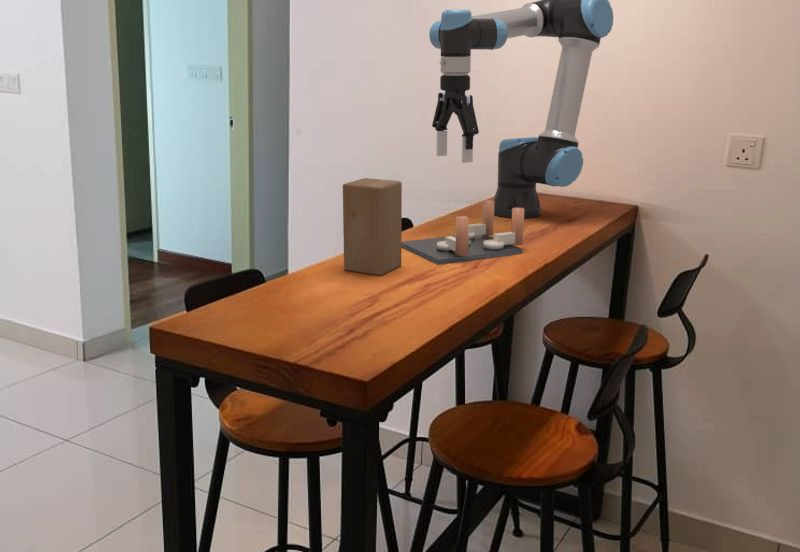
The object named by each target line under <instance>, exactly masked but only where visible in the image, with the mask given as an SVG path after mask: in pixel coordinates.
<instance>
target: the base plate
mask: <svg viewBox="0 0 800 552" xmlns="http://www.w3.org/2000/svg"><path fill="white" fill-rule="evenodd" d="M449 236H450V235H447V236H439V237H437V236H436V237H430V238H421V239H413V240H404V241H402V240H401V249H402V248H403V249H405V250H407V251H409V252H410V253H413V254H414V255H417V256H420V257H421V258H423V259H425V260H427V261H429V262H432V263H434V264H435V265H439V266H440V265H445V264H446V265H447V264H453V263H461V262H469V261H475V260H483V259H484V260H485V259H489V258H490V259H492V258H498V257H505V256H507V257H508V256H513V255H520V254H521V255H522V254H523V250H524V249H523V248H521V247H519V246H518V245H512V244H507V245H504V247H503V248H501V249H488V248H484V247H483V242H484V241H485V240H494V236H493V237H492V236H484V235H475V237H474V238H473V239H468V255H466V256H458V255H456V254H455V251H453V250H440V249H437V242H440V241H445V237H449ZM451 236H452V237H455V235H451ZM455 238H456V237H455Z"/></svg>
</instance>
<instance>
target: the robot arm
mask: <svg viewBox="0 0 800 552" xmlns="http://www.w3.org/2000/svg"><path fill="white" fill-rule="evenodd" d="M613 12H614V11H613V8H612V6H611V2H610V1H609V0H537V1H532V2H528V3H525V4H524V5H522V7H520V8H515V9H507V10H502V11H497V12H496V11H494V12H490V13H489V12H488V13H484V14H477V15H473V16H472V11H471V10H470V9H445V10H444V11H442V13H441V16H440V20H436V21H435V22H433V23H432V25H431V27H430V28H429V31H428V32H429V33H428V34H429V35H428V36H429V40H430V43H431V45H432V46H433V48H436V49H437V50H438V49H439V50H440V61H439V65H440V73H441V76H440V79H439V80H440V81H439V87H440V88H439V89H440V90H441V91H442V92H439V93H437V103H436V108H435V111H434V116H433V119H432V124H431V126H432V128H434V129H435V131H436V157H445V156H446V157H447V155H448V127H447V126H448V124H449V123H450V119H451V117H452V115H453V113H454V115H456V116H457V120H458V121H459V124H460V127H461V129H462V135H461V163H463V164H466V163H467V164H468V163H473V159H474V157H473V154H474V153H473V152H474V137H475V136H476V135H479V133H480V130H479V127H478V126H479V125H478V121H477V118H476V117H477V116H476V112H475V108H474V99H473V95H472V94H469V95H468V94H467V95H466V91H470V89H471V76H470V75H469V74H470V73H471V65H472V64H471V62H472V60H471V57H472V56H471V55H472V51H473V50H488V51H489V50H490V51H493V50H497V49H498V50H499V49H501V48H503V46H505V44H506V42H507V40H508V39H512V38H517V37H522V36H526V38H536V37H547V38H549V37H550V38H558V42H559V44H560V45H561V50H560V51H561V52H560V57H559V61H558V65H557V66H558V67H557V71H556V75H555V80H554V85H553V90H552V95H551V98H550V105H549V109H548V110H549V111H548V114H547V119H546V125H545V128H544V130H543V132H542V133H540V134H539V135H538V137H537V136H532V137H529V136H528V137H516V138H505V139H502V140H501V141H500V142H499V147H498V152H497V157H498V159H497V189H496V191H495V194H494V197H493V199H492V200H493V201H494V216H497V217H502V218H510V219H512V208H524V219H525V218H527V219H528V218H534V217H538V216H541V212H542V209H541V208H542V207H541V206H542V205H541V203H540V199H539V196H538V192H537V184H541V185H545V186H548V187H549V186H550V187H559V188H561V187H568V186H570V185H571V184H573V182H575V181H576V180H577V179H578V178H579V176H580V174H581V172H582V170H583V165H584V157H583V153H582V151H581V150H580V149H579V148H578V147H579V140H578V139H577V138H576V130H577V126H578V121H579V116H580V112H581V107H582V103H583V98H584V93H585V89H586V83H587V79H588V74H589V69H590V66H591V65H590V64H591V59H592V56H593V55H592V54H593V52H594V51H595V50H596V49H598V48H599V47H600V44H601V41H602V40H601V39H603V38H605V37H607V36H608V35H609V33H610V32H611V31H612V29H613V26H614V13H613ZM443 91H444V92H443Z"/></svg>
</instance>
